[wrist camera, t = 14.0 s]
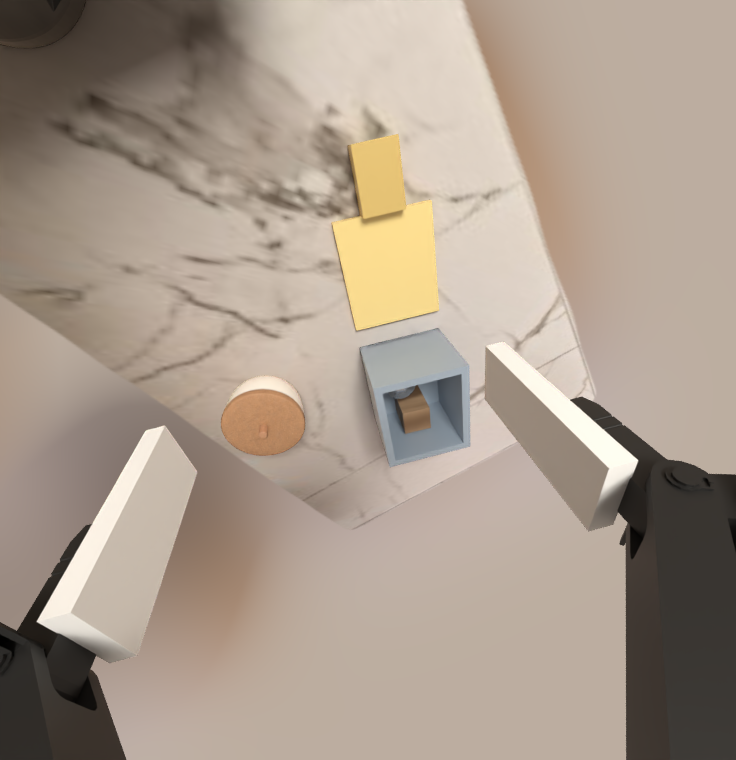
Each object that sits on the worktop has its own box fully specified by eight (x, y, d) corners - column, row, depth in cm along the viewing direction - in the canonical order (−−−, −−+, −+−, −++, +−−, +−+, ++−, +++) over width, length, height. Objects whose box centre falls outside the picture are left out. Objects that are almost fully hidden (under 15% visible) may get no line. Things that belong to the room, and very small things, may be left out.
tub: (359, 347, 50) (373, 389, 41) (438, 328, 50) (469, 365, 41) (375, 418, 57) (389, 467, 48) (443, 401, 58) (470, 446, 49)
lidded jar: (317, 380, 52) (320, 419, 44) (285, 429, 56) (282, 473, 48) (248, 350, 47) (238, 388, 39) (219, 406, 51) (205, 450, 43)
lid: (315, 152, 36) (316, 152, 34) (423, 128, 37) (431, 126, 35) (355, 327, 48) (357, 335, 46) (436, 307, 49) (442, 314, 47)
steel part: (375, 357, 50) (384, 379, 45) (401, 350, 50) (413, 371, 45) (381, 379, 52) (389, 402, 47) (406, 372, 52) (417, 394, 47)
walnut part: (393, 390, 54) (402, 413, 49) (417, 384, 54) (429, 407, 49) (395, 409, 56) (405, 433, 51) (419, 404, 56) (430, 427, 51)
